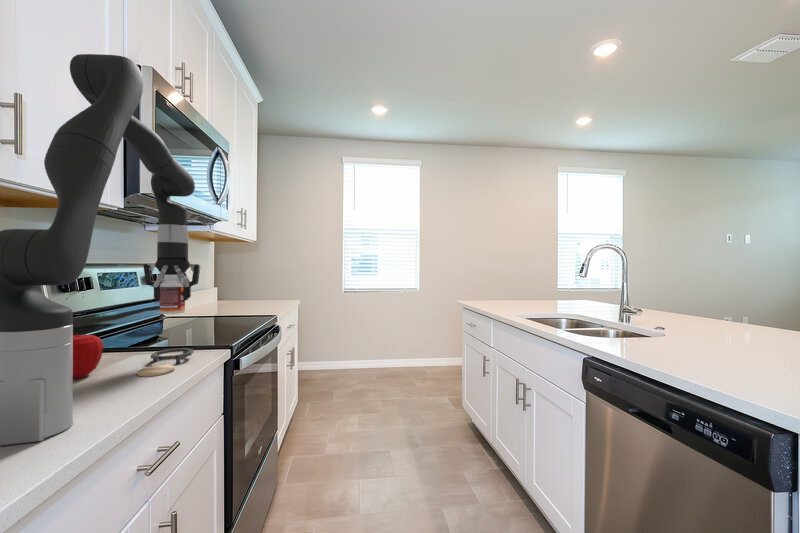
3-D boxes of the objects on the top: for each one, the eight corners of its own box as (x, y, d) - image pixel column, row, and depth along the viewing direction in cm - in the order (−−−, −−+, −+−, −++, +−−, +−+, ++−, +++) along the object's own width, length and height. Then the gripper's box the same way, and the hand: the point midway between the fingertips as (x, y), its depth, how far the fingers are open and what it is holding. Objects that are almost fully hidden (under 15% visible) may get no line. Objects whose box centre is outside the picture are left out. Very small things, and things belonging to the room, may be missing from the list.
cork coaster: (169, 374, 92) (169, 372, 92) (132, 377, 89) (132, 375, 89) (178, 366, 99) (178, 364, 99) (143, 368, 97) (143, 366, 97)
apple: (113, 371, 94) (113, 329, 94) (74, 383, 85) (74, 336, 85) (80, 370, 96) (80, 328, 96) (38, 381, 86) (38, 335, 86)
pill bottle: (185, 313, 104) (185, 274, 104) (159, 315, 101) (159, 274, 101) (184, 311, 109) (184, 274, 109) (159, 312, 106) (159, 274, 106)
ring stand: (188, 363, 102) (188, 355, 102) (147, 366, 99) (147, 357, 99) (195, 355, 111) (195, 347, 111) (158, 357, 108) (158, 349, 108)
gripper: (138, 240, 99) (138, 302, 99) (198, 241, 104) (198, 301, 104) (148, 241, 106) (147, 299, 106) (203, 243, 111) (203, 298, 111)
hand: (172, 300), depth 105 cm, fingers closed on pill bottle, 6 cm apart
